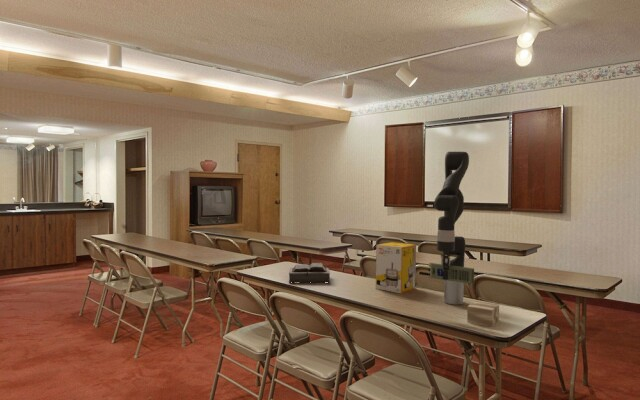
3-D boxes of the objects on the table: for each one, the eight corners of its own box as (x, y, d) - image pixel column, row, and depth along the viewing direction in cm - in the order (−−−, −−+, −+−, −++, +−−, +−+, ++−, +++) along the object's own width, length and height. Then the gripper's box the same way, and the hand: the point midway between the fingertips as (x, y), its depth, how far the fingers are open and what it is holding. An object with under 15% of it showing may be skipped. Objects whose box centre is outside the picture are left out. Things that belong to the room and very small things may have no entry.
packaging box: (415, 288, 255) (416, 244, 255) (401, 293, 243) (402, 247, 242) (390, 284, 266) (391, 242, 265) (375, 288, 253) (376, 244, 252)
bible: (328, 286, 260) (328, 269, 260) (283, 283, 264) (283, 267, 264) (333, 278, 283) (333, 262, 283) (291, 276, 287) (292, 260, 287)
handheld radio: (471, 284, 192) (417, 276, 207) (474, 283, 194) (420, 275, 210) (472, 269, 191) (418, 262, 207) (474, 267, 194) (421, 260, 209)
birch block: (475, 316, 202) (475, 300, 202) (498, 320, 196) (499, 304, 196) (467, 322, 192) (467, 306, 192) (491, 327, 187) (491, 310, 186)
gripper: (456, 242, 192) (455, 282, 192) (453, 238, 206) (452, 275, 206) (437, 241, 193) (436, 281, 194) (436, 237, 207) (435, 275, 208)
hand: (445, 278), depth 200 cm, fingers closed on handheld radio, 3 cm apart
